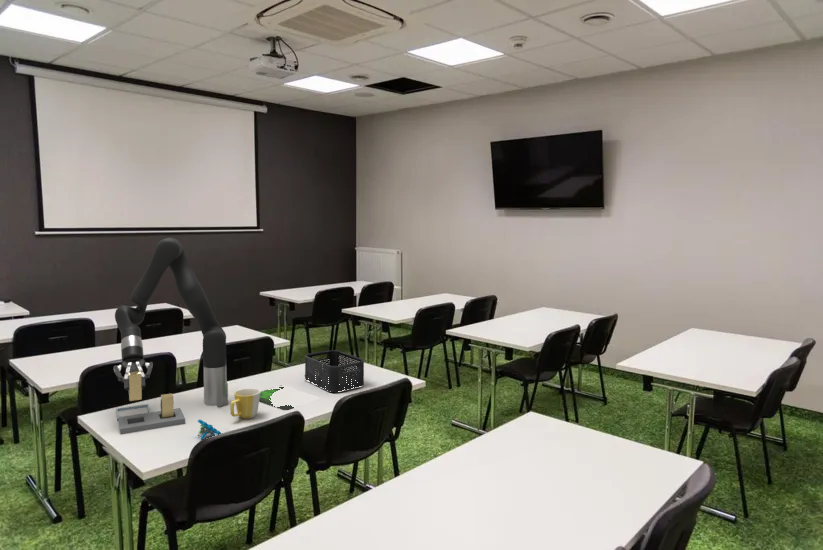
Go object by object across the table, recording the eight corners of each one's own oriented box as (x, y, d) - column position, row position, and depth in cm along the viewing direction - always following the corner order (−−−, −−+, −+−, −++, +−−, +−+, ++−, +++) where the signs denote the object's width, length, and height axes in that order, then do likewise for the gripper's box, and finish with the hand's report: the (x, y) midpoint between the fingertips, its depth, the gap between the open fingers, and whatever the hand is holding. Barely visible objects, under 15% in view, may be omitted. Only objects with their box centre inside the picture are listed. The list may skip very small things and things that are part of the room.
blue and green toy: (227, 434, 194) (206, 420, 189) (216, 449, 191) (195, 434, 186) (215, 429, 202) (195, 415, 197) (204, 443, 199) (184, 429, 194)
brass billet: (140, 396, 203) (140, 370, 202) (141, 399, 200) (141, 373, 199) (128, 397, 201) (127, 372, 200) (129, 401, 197) (128, 375, 196)
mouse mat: (323, 398, 241) (323, 396, 241) (286, 412, 223) (286, 409, 223) (282, 386, 256) (282, 384, 256) (245, 398, 238) (245, 395, 238)
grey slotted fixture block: (180, 414, 215) (180, 407, 215) (185, 426, 204) (185, 418, 204) (118, 424, 204) (118, 417, 204) (120, 436, 193) (120, 429, 193)
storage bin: (302, 379, 266) (302, 354, 265) (334, 373, 279) (335, 348, 278) (333, 395, 245) (333, 367, 244) (366, 387, 258) (367, 360, 256)
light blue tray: (148, 408, 222) (148, 403, 221) (151, 418, 211) (151, 413, 211) (115, 413, 215) (115, 408, 215) (117, 423, 205) (117, 418, 205)
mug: (251, 410, 223) (251, 386, 222) (265, 416, 217) (265, 391, 216) (221, 419, 212) (221, 393, 211) (236, 425, 206) (236, 399, 205)
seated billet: (172, 417, 210) (171, 393, 209) (173, 421, 206) (173, 396, 205) (160, 419, 208) (160, 395, 206) (161, 423, 204) (161, 398, 203)
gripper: (111, 346, 201) (113, 386, 192) (152, 343, 208) (156, 381, 199) (111, 356, 206) (113, 396, 197) (151, 352, 213) (155, 390, 204)
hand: (135, 388), depth 198 cm, fingers closed on brass billet, 4 cm apart
